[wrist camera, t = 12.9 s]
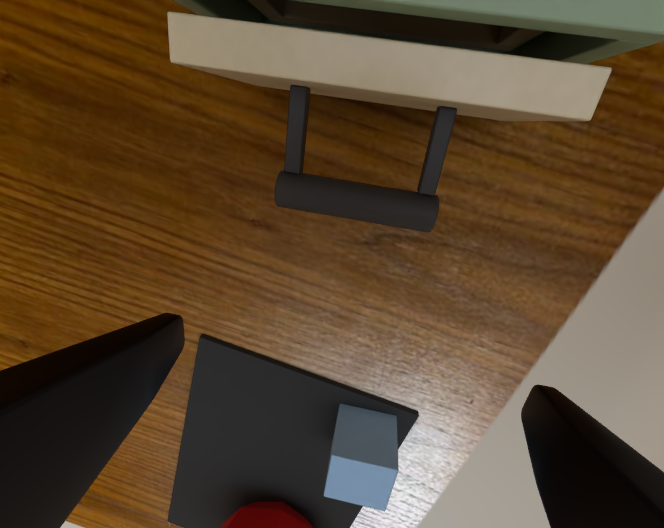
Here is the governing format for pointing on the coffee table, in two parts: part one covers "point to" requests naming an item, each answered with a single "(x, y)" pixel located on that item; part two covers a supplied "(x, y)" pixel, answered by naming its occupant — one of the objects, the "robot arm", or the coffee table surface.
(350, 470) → the block
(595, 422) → the robot arm
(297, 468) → the mat
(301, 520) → the apple
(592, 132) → the coffee table surface
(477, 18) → the cabinet
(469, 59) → the drawer
